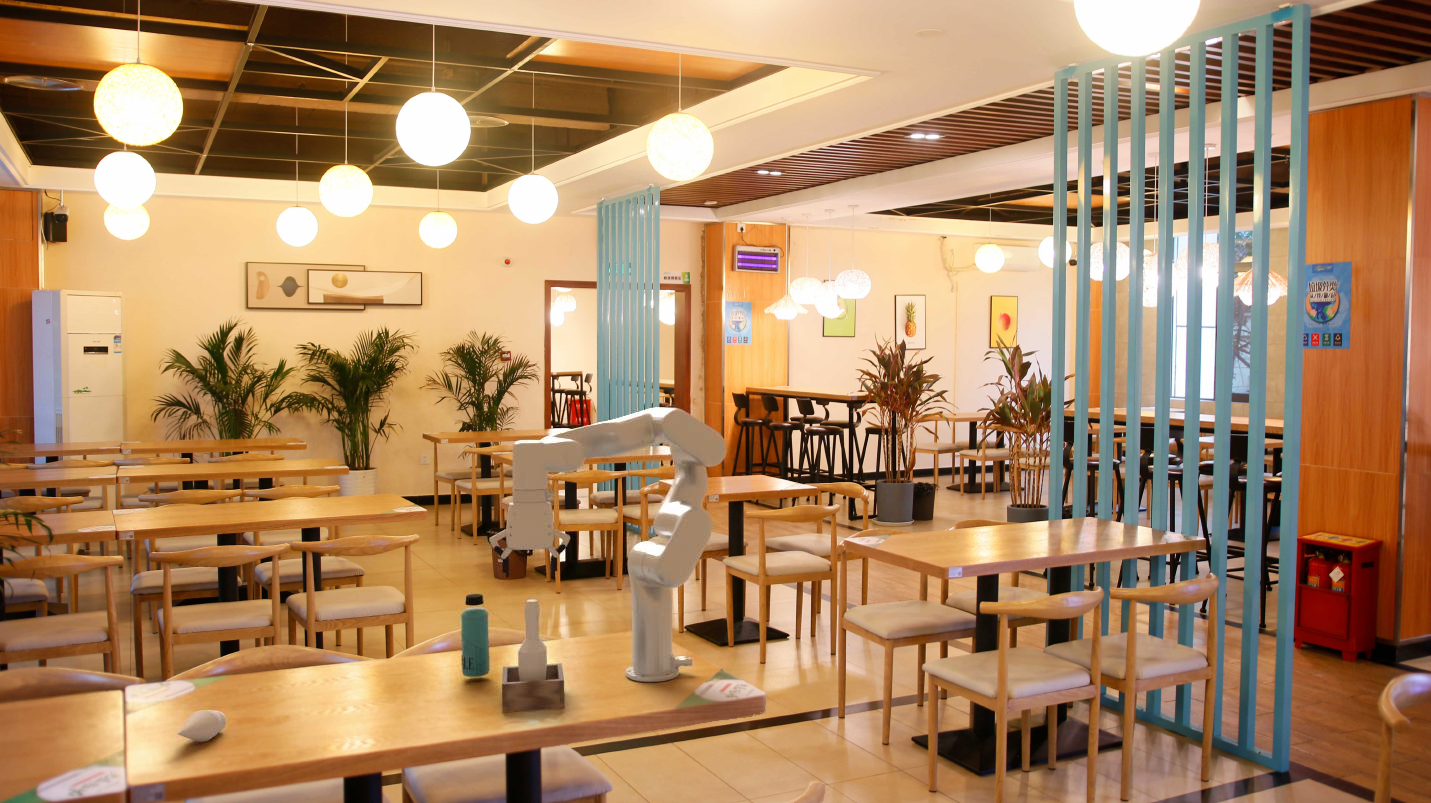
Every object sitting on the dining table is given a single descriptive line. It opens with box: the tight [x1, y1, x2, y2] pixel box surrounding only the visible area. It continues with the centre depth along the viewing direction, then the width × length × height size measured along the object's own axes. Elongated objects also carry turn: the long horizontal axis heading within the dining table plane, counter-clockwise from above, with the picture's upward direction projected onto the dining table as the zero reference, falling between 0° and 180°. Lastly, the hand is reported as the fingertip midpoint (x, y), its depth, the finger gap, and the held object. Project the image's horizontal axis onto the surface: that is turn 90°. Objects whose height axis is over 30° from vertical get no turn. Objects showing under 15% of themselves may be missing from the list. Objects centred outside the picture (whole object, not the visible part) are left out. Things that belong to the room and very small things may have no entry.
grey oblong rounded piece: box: [177, 709, 227, 743], centre depth 198 cm, size 6×6×15 cm
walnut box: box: [501, 662, 565, 713], centre depth 223 cm, size 13×13×6 cm
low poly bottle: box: [517, 598, 548, 682], centre depth 222 cm, size 6×6×22 cm
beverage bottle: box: [460, 593, 491, 678], centre depth 238 cm, size 6×7×20 cm
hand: (529, 575), depth 222 cm, fingers open, 9 cm apart
